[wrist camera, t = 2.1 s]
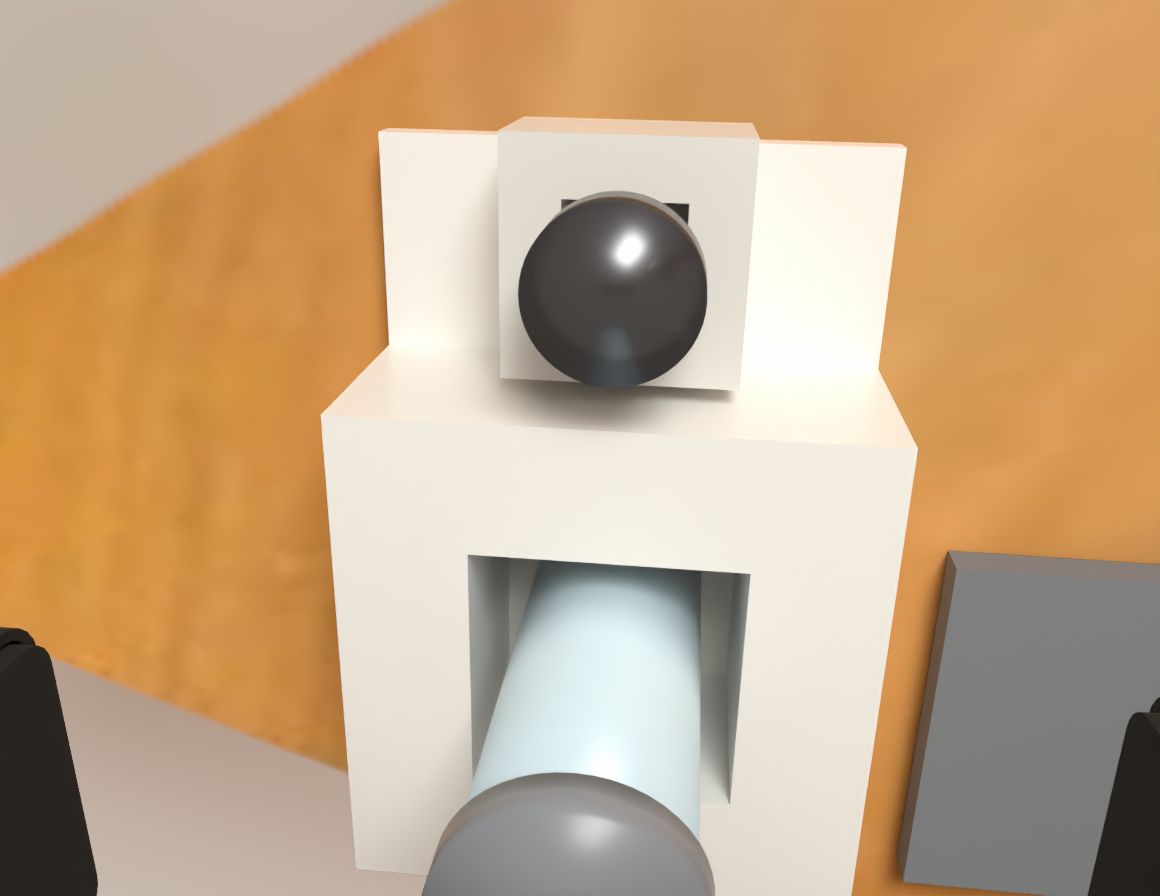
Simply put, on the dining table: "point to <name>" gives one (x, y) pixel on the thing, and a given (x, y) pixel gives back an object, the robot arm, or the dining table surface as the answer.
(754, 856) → the housing
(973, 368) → the dining table surface
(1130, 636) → the mat
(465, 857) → the cartridge
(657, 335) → the plunger
